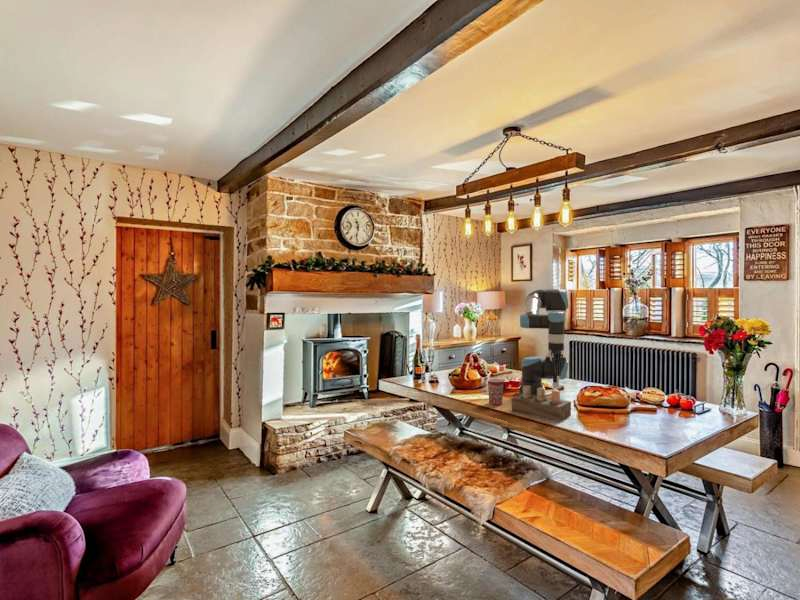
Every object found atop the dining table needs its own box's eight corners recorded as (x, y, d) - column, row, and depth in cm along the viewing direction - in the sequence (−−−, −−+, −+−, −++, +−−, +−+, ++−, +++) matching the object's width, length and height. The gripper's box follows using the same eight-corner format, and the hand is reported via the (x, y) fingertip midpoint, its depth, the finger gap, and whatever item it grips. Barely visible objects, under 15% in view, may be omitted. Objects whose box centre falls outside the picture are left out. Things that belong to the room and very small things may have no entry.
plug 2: (553, 405, 230) (553, 389, 229) (561, 407, 227) (561, 390, 227) (550, 407, 227) (550, 391, 226) (558, 408, 224) (558, 392, 224)
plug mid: (538, 403, 235) (538, 387, 235) (546, 404, 232) (546, 388, 232) (535, 404, 232) (535, 388, 232) (542, 406, 229) (542, 389, 229)
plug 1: (524, 400, 240) (524, 385, 240) (531, 401, 238) (531, 386, 237) (521, 402, 237) (521, 386, 237) (528, 403, 235) (528, 387, 234)
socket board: (523, 406, 246) (523, 393, 246) (570, 415, 229) (570, 401, 229) (511, 411, 236) (511, 398, 236) (559, 421, 218) (559, 407, 218)
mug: (496, 406, 245) (496, 382, 245) (484, 403, 253) (484, 379, 252) (511, 403, 253) (511, 379, 252) (499, 399, 260) (499, 376, 260)
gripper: (554, 340, 233) (554, 385, 234) (543, 342, 223) (543, 389, 224) (568, 341, 228) (568, 387, 229) (558, 344, 218) (557, 391, 219)
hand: (555, 388), depth 226 cm, fingers closed
